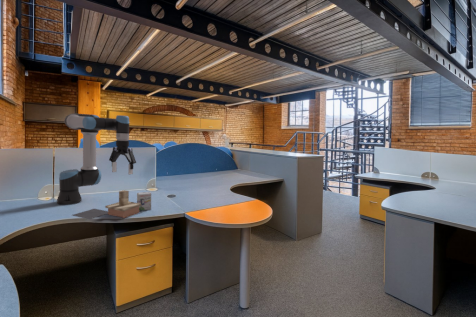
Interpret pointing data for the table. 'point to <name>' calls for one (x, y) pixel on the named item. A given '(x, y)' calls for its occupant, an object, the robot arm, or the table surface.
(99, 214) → the mat
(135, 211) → the reddish brown open box
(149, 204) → the ink box
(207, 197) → the table surface
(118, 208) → the light wood slatted piece
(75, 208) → the table surface
